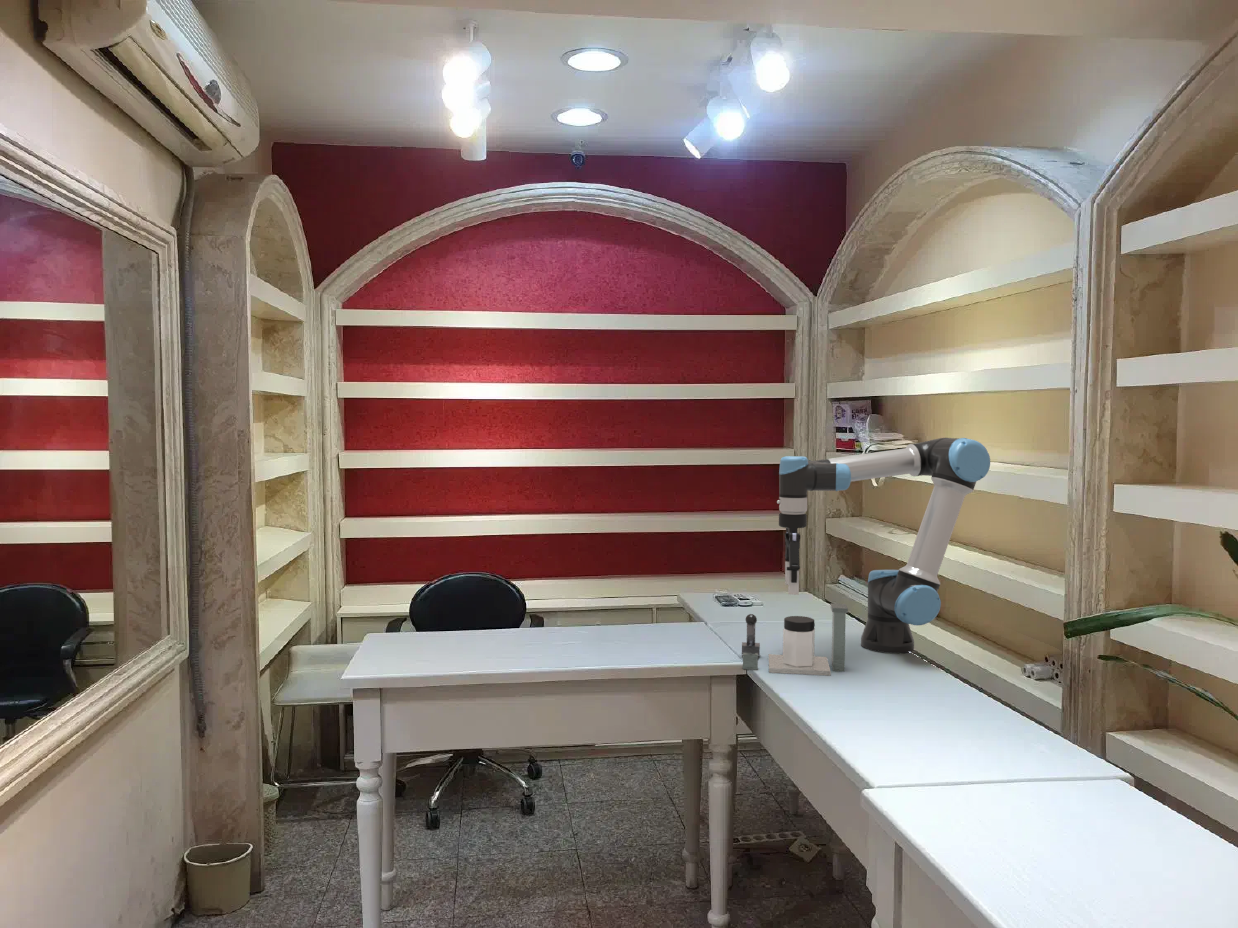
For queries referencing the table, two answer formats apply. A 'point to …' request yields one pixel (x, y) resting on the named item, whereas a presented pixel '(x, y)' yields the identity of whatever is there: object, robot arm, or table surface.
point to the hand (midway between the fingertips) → (791, 589)
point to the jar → (798, 641)
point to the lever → (751, 636)
